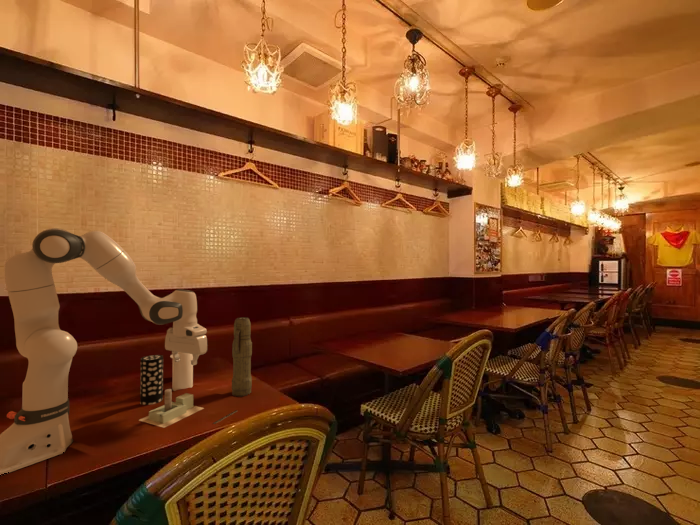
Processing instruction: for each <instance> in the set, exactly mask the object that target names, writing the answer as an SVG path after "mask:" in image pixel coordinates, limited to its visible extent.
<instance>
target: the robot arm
mask: <svg viewBox="0 0 700 525" xmlns="http://www.w3.org/2000/svg"><path fill="white" fill-rule="evenodd" d="M31 245H32V247H31V249H30V250H29V251H25V252H21V253H17V254H13V255H11V256H9V257H8V258H7V259H6V261H5V262H4V281H5V286H6V292H7V295H8V299H9V303H10V305H11V306H10V308H11V310H12V314H13V319H14V320H13V321H14V333H15V345H16V349H17V350H18V353H19V355H21V356H22V357H24V358H26V359H27V360H28V365H27V371H26V375H25V379H24V381H23V382H22V398H21V399H22V404H21V408H20V410H18V412H16V411H13V410H10V411H9V412H8V413H7V414H6V417H7V419H10V420H13V419H14V420H13V421H14V422H13V423H12V424H11V425H10V426H9V427H7V429H5V430H4V431H3V432H1V433H0V475H1V474H4V473H7V474H9V473H12V472H15V471H17V470H20V469H23V468H25V467H28V466H31V465H34V464H37V463H39V462H43V461H45V460H47V459H48V460H49V459H50V458H54V457H56V456H58V455H63V452H64V453H65V452H66V450H67V448H69V447H70V445H71V444H72V443H73V442H74V438H73V435H72V431H71V427H70V420H69V415H70V399H69V398H68V397H69V396H68V395H69V394H68V392H69V387H68V386H69V374H70V373H69V372H70V371H71V370H70V368H71V366H72V362H73V357H75V355H76V353H77V350H78V342H77V340H76V339H75V338H74V336H73V335H72V334H70V333H69V332H68V331H65V330H62V329H61V328H60V324H59V311H60V307H61V305H60V302H59V297H58V293H57V289H56V285H55V281H54V278H53V276H54V275H53V267H54V265H56V264H61V263H66V262H69V261H72V260H75V259H82V260H84V261H85V262H86V263H87V264H89V265H90V266H91V268H92V269H93V270H95V271H96V272H97V273H98V274H99V275H100V276H101V277H103V278H104V279H105V280H107V281H109V282H110V283H112V284H113V285H115V286H117V287H119V288H120V289H122V290H123V291H124V292H125V293H126V294H127V295H128V296H129V297H130V298H131V299H132V300H133V301H134V302H135V303H136V304H137V306H138V309H139V313H140V315H141V316H142V318H143V319H144V320H145V321H148V322H150V323H151V322H152V323H153V324H155V325H159V326H160V325H161V326H162V325H167V324H171V323H172V327H169V328H168V329H167V330H166V334H165V338H164V349H165V350H166V351H170V352H171V355H173V357H174V362H179V361H180V357H179V355H178V352H182V353H188V354H193V360H191V365H193V366H197V364H198V359H199V357H200V356H201V355H204V354H206V353H207V352H208V338H207V335H206V334H207V333H208V331H207V330H208V329H207V328H205V327H204V326H202V325H200V324H199V323H198V318H197V313H198V300H197V294H196V293H195V292H194V291H193V290H188V289H181V288H180V289H179V288H177V289H175V290H174V291H172V293H171V292H170V294H167V295H166V296H163V297H160V296H157V295H154V294H153V293H152V292H151V291H150V290H149V289H148V288H147V287H146V286H145V285H144V283H143V282H141V280H140V278H139V277H138V275H137V265H136V263H135V262H134V259H132V257H131V256H130V254H129V253H128V252H127V251H126V250H125V249H124V248H123V247H122V246H121V245H120V244H119V243H118V242H117V241H115V240H114V239H113V238H112V237H110V236H109V235H108V234H106V233H105V232H104V231H101V230H92V231H91V230H90V231H88V232H86V233H83V234H82V235H77V234H75V233H72V232H70V231H68V230H66V229H63V228H57V227H55V228H54V227H53V228H47V229H45V230H43V231H40V232H39V233H38V234H37V235H36V236H35V237H34V239H33V242H32V244H31ZM8 472H9V473H8ZM4 475H5V474H4ZM1 476H2V475H1Z"/></svg>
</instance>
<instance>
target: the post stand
mask: <svg viewBox="0 0 700 525" xmlns="http://www.w3.org/2000/svg"><path fill="white" fill-rule="evenodd" d="M172 391H173V389H172V388H167V389H165V390H164V405H165V412H167V411H169V410H171V409H172V402H173V401H172V400H173V399H172V397H173V396H172V395H173V393H172ZM204 409H205V408H204V407H201V406H197V405H193V407H192V408H190V409H188V410H186V413H185V414H183V415H181V416H179V417H176V418H174V419H172V420H170V421H168V422H166V423H164V424H163V423H159V422H156V421H152V420H149V415H147V416H145V417H142V418H140V419H138V421H139V422H142V423H147V424H150V425H154V426H156V427H160V428H163V429H164V428H167V427H170V426H172V425H174V424H175V423H177V422H179V421H182V420H183V419H186V418H187V417H190V416H191V415H194V414H196V413H198V412H200V411H202V410H204Z"/></svg>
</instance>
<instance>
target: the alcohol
mask: <svg viewBox="0 0 700 525" xmlns="http://www.w3.org/2000/svg"><path fill="white" fill-rule="evenodd" d="M178 355H179V357H180V361H179V362H174V357H173V365H172V373H171V374H172V381H171V382H172V388H171V389H172V391H173V392H176V391H178V390H185V389H188V388H191V389H192V388H193V386H194V365H191V360H193V354H188V353H182V352H178Z"/></svg>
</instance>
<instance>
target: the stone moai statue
mask: <svg viewBox="0 0 700 525" xmlns="http://www.w3.org/2000/svg"><path fill="white" fill-rule="evenodd" d="M251 327H252V323H251V321H250V318H249V317H244V316H243V317H237V318H235V320H234V323H233V341H232V345H231V346H232V348H231V349H232V350H231V352H232V354H231V357H232V358H233V359H232V362H233V364H232V369H233V370H232V378H231V395H232V396H233V397H238V398H239V397H240V398H242V397H246V396H248V394H249V395H251V394H250V393H252V385H253V377H252V374H251V373H252V372H251V371H252V370H251V369H252V361H251V360H252V356H253V355H252V354H253V342H252V338H251V334H252V333H251V332H252V331H251V330H252V329H251Z"/></svg>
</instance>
